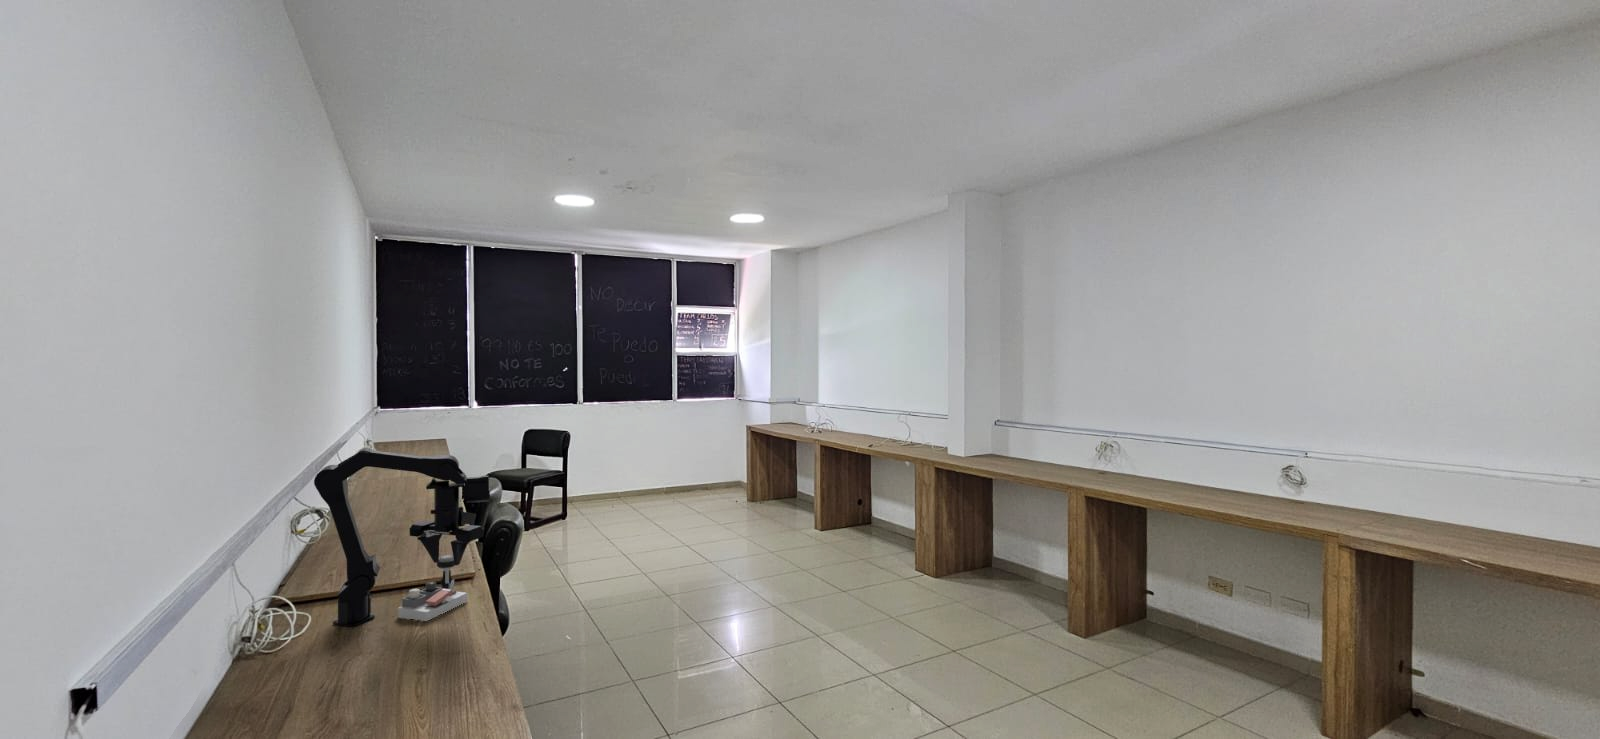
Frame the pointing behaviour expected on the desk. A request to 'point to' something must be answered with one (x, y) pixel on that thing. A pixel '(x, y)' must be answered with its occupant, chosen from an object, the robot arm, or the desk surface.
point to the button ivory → (414, 594)
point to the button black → (430, 586)
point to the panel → (426, 612)
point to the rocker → (439, 597)
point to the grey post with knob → (446, 569)
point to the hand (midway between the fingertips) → (446, 563)
